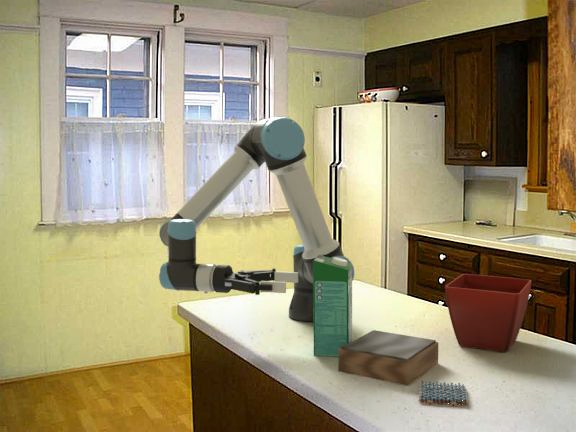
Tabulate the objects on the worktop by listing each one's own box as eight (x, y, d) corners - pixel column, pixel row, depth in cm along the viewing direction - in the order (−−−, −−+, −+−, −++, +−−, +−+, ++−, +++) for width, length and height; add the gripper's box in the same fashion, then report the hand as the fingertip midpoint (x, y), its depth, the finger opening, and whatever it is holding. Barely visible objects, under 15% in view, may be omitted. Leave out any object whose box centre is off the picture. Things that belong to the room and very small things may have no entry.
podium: (338, 371, 161) (338, 346, 160) (372, 351, 176) (372, 329, 175) (408, 385, 151) (408, 359, 150) (438, 363, 166) (438, 340, 165)
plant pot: (517, 358, 169) (519, 293, 167) (442, 348, 178) (443, 286, 176) (530, 339, 185) (532, 279, 183) (461, 330, 195) (462, 273, 193)
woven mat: (418, 406, 140) (418, 397, 140) (418, 388, 150) (418, 380, 150) (469, 410, 138) (469, 400, 138) (466, 391, 148) (466, 382, 148)
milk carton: (348, 357, 171) (348, 260, 169) (313, 355, 173) (312, 260, 170) (352, 346, 180) (352, 254, 177) (319, 345, 182) (318, 254, 179)
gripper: (231, 283, 194) (302, 287, 189) (198, 302, 170) (279, 307, 165) (230, 257, 193) (302, 260, 188) (198, 273, 169) (279, 277, 164)
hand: (292, 282), depth 177 cm, fingers open, 13 cm apart
